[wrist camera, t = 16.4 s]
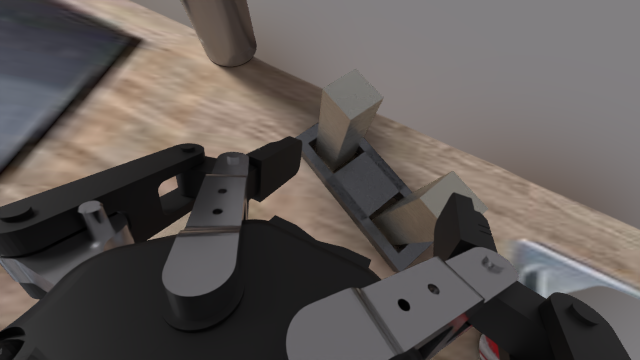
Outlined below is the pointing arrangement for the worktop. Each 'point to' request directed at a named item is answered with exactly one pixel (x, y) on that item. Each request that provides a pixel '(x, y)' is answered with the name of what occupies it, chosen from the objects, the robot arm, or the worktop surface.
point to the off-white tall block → (422, 211)
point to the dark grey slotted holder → (364, 194)
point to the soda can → (488, 349)
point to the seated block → (345, 117)
